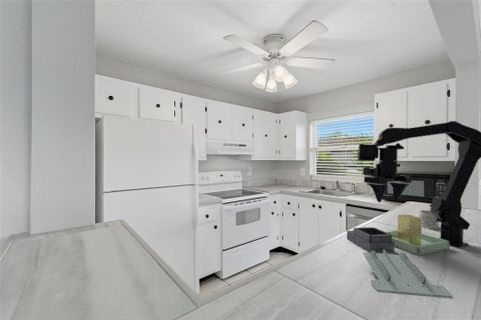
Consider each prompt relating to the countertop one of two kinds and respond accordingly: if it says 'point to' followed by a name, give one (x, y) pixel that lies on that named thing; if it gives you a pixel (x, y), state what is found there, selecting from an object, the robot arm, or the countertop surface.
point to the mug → (428, 220)
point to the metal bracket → (401, 276)
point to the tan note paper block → (409, 229)
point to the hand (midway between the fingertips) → (387, 201)
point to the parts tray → (426, 247)
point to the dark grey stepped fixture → (371, 239)
